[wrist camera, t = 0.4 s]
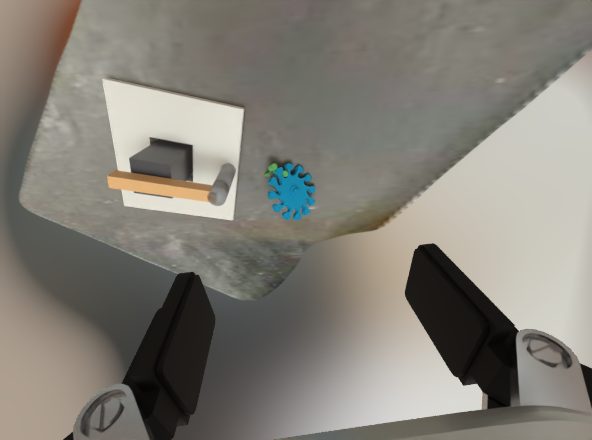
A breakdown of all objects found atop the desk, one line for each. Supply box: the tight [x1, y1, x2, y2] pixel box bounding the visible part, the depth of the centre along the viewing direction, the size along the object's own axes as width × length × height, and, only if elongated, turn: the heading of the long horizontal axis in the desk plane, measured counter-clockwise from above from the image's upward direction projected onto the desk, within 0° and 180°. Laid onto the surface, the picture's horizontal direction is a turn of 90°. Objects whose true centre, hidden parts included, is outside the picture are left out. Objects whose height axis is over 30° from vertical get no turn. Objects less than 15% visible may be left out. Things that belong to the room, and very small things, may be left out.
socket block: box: [102, 78, 245, 220], centre depth 37 cm, size 20×19×9 cm
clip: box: [107, 170, 229, 206], centre depth 32 cm, size 2×14×3 cm, turn 78°
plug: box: [129, 139, 192, 198], centre depth 37 cm, size 5×5×10 cm
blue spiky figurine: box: [265, 163, 315, 220], centre depth 44 cm, size 11×6×10 cm
